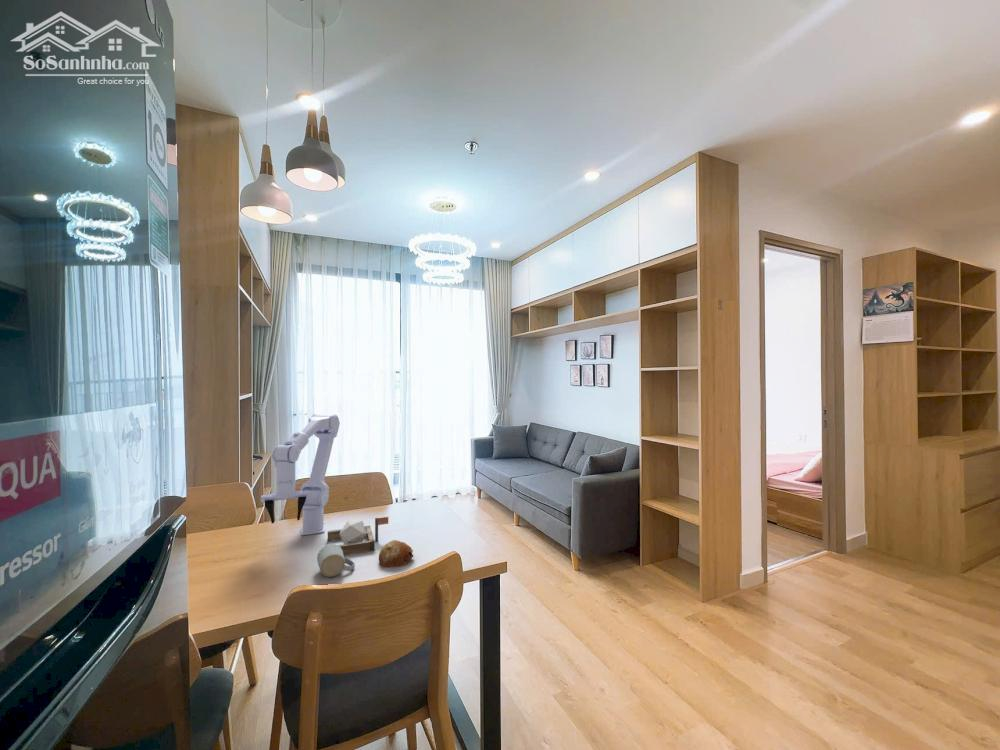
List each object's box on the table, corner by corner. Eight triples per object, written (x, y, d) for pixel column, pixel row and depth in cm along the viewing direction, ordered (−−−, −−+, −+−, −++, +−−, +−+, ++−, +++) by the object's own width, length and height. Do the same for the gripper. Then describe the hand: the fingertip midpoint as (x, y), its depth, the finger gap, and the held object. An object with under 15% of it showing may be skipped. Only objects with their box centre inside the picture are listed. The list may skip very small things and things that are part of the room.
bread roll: (390, 564, 137) (380, 542, 137) (418, 551, 137) (408, 529, 137) (381, 579, 127) (369, 555, 127) (411, 565, 127) (400, 541, 127)
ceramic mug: (319, 581, 119) (320, 555, 119) (316, 570, 126) (317, 545, 126) (357, 573, 124) (357, 548, 124) (352, 563, 131) (352, 539, 131)
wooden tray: (327, 539, 149) (327, 517, 149) (385, 531, 156) (385, 510, 156) (327, 557, 134) (327, 532, 134) (391, 547, 142) (391, 524, 142)
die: (350, 553, 138) (368, 527, 141) (330, 539, 140) (348, 513, 143) (358, 552, 146) (375, 527, 149) (339, 538, 148) (356, 514, 150)
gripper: (259, 485, 134) (259, 527, 134) (309, 481, 140) (309, 521, 140) (262, 480, 141) (262, 520, 141) (309, 476, 146) (309, 515, 146)
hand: (286, 520), depth 141 cm, fingers open, 7 cm apart
